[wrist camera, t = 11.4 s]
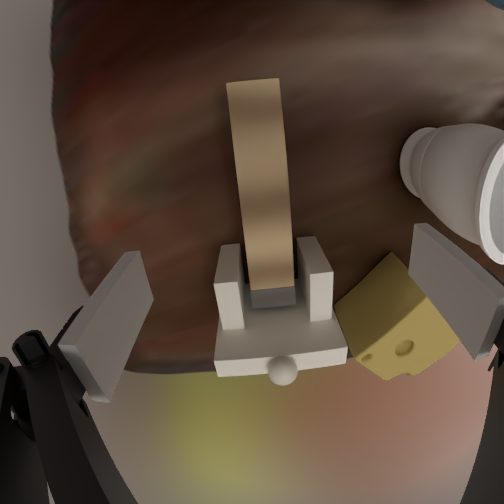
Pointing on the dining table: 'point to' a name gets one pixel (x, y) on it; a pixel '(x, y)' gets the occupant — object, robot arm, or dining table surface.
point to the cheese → (393, 322)
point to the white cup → (460, 180)
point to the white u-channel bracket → (277, 320)
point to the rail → (263, 189)
